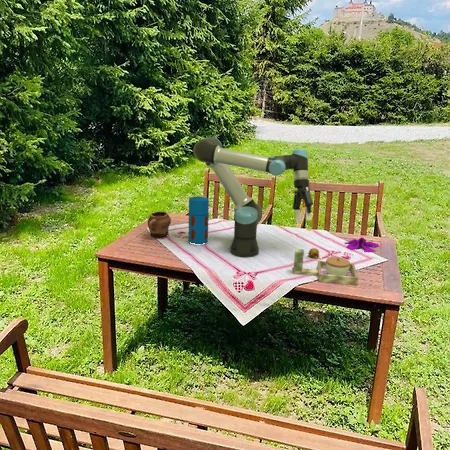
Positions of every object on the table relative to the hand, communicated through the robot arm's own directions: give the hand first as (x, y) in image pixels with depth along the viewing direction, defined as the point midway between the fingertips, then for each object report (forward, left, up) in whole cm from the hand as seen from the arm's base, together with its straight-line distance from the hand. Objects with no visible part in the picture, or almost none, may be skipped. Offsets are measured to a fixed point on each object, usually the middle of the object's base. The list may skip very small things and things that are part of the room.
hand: (303, 221), depth 221 cm
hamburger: (+7, 0, -20) cm, 21 cm away
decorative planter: (-80, +11, -19) cm, 83 cm away
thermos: (-56, +8, -19) cm, 60 cm away
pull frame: (+11, -22, -19) cm, 31 cm away
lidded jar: (+17, -22, -19) cm, 34 cm away
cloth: (+33, +24, -20) cm, 45 cm away
